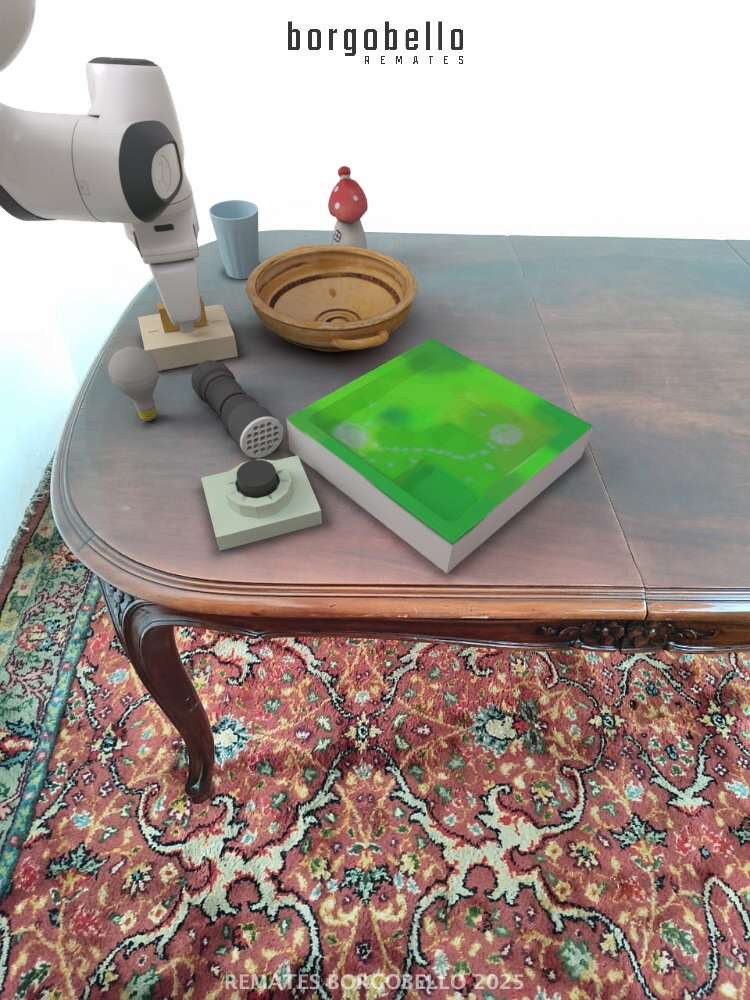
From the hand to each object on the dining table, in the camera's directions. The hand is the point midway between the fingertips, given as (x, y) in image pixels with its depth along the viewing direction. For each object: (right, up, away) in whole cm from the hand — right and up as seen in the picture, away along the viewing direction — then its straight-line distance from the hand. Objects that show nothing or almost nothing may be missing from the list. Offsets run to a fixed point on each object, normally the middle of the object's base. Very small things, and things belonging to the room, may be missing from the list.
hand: (184, 320), depth 82 cm
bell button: (+14, -24, -20) cm, 34 cm away
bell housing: (+14, -26, -17) cm, 34 cm away
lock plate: (0, -3, +3) cm, 4 cm away
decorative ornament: (+22, +16, +22) cm, 35 cm away
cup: (+4, +14, +19) cm, 24 cm away
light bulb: (-2, -15, -8) cm, 17 cm away
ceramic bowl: (+20, 0, +7) cm, 22 cm away
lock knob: (0, -1, +1) cm, 1 cm away
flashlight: (+9, -16, -8) cm, 20 cm away
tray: (+34, -20, -11) cm, 41 cm away
